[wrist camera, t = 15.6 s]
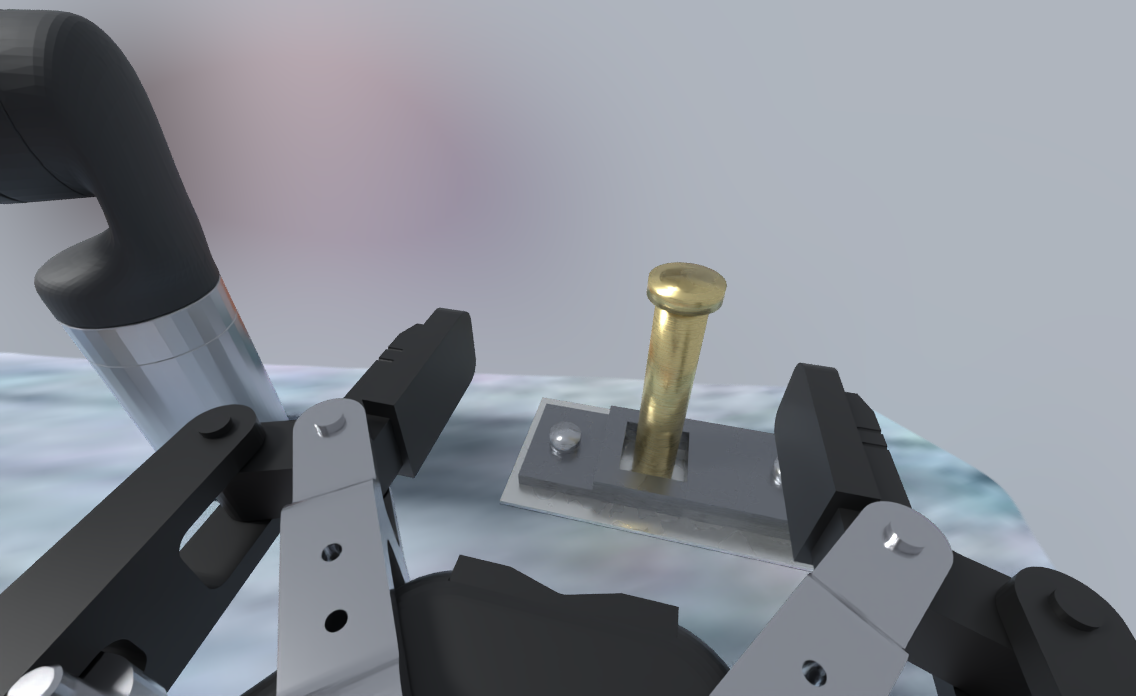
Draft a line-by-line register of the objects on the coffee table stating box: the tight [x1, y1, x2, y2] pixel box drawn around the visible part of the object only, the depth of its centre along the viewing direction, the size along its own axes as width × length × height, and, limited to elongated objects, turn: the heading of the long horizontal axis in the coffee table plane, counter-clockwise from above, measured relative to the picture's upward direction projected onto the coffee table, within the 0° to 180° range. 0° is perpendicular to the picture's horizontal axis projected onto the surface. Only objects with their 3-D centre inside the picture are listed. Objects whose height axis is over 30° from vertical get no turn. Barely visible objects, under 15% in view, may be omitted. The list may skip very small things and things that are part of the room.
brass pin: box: [632, 262, 727, 479], centre depth 37 cm, size 5×5×19 cm
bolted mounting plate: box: [500, 398, 814, 572], centre depth 41 cm, size 28×13×4 cm, turn 77°
